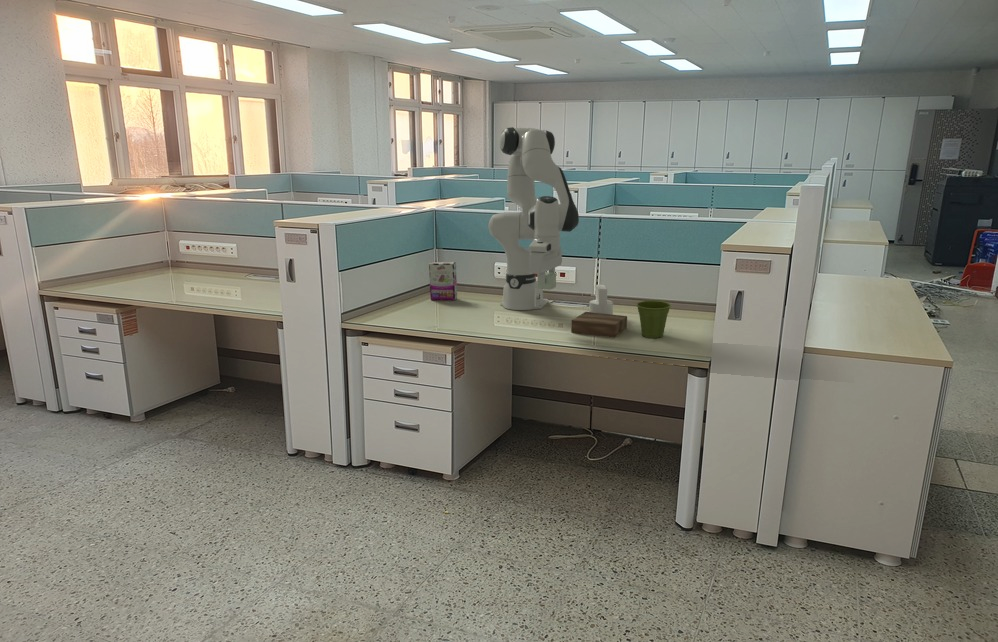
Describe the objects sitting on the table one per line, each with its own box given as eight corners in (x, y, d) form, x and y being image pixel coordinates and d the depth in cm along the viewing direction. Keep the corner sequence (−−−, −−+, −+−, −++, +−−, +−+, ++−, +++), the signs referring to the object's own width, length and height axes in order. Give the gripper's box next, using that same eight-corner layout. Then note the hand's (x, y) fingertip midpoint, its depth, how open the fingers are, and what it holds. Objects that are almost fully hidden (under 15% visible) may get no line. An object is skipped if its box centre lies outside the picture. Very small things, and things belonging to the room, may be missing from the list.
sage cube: (543, 285, 244) (543, 272, 242) (555, 287, 241) (556, 273, 240) (537, 288, 239) (537, 274, 238) (550, 289, 237) (550, 275, 236)
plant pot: (631, 331, 239) (632, 301, 236) (663, 330, 239) (665, 300, 237) (640, 341, 227) (641, 308, 224) (674, 339, 228) (676, 307, 225)
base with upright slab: (587, 314, 264) (588, 284, 261) (610, 314, 264) (611, 284, 261) (590, 320, 256) (591, 289, 253) (614, 319, 256) (615, 289, 253)
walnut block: (585, 324, 251) (585, 311, 250) (626, 329, 243) (627, 316, 242) (571, 333, 239) (571, 320, 238) (614, 339, 231) (614, 325, 230)
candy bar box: (457, 298, 296) (456, 261, 292) (455, 300, 291) (453, 263, 287) (433, 297, 298) (431, 261, 294) (430, 300, 293) (428, 263, 289)
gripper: (550, 239, 247) (550, 276, 250) (526, 247, 229) (526, 286, 233) (566, 240, 244) (565, 277, 247) (543, 248, 226) (543, 288, 230)
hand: (546, 281), depth 240 cm, fingers closed on sage cube, 5 cm apart
